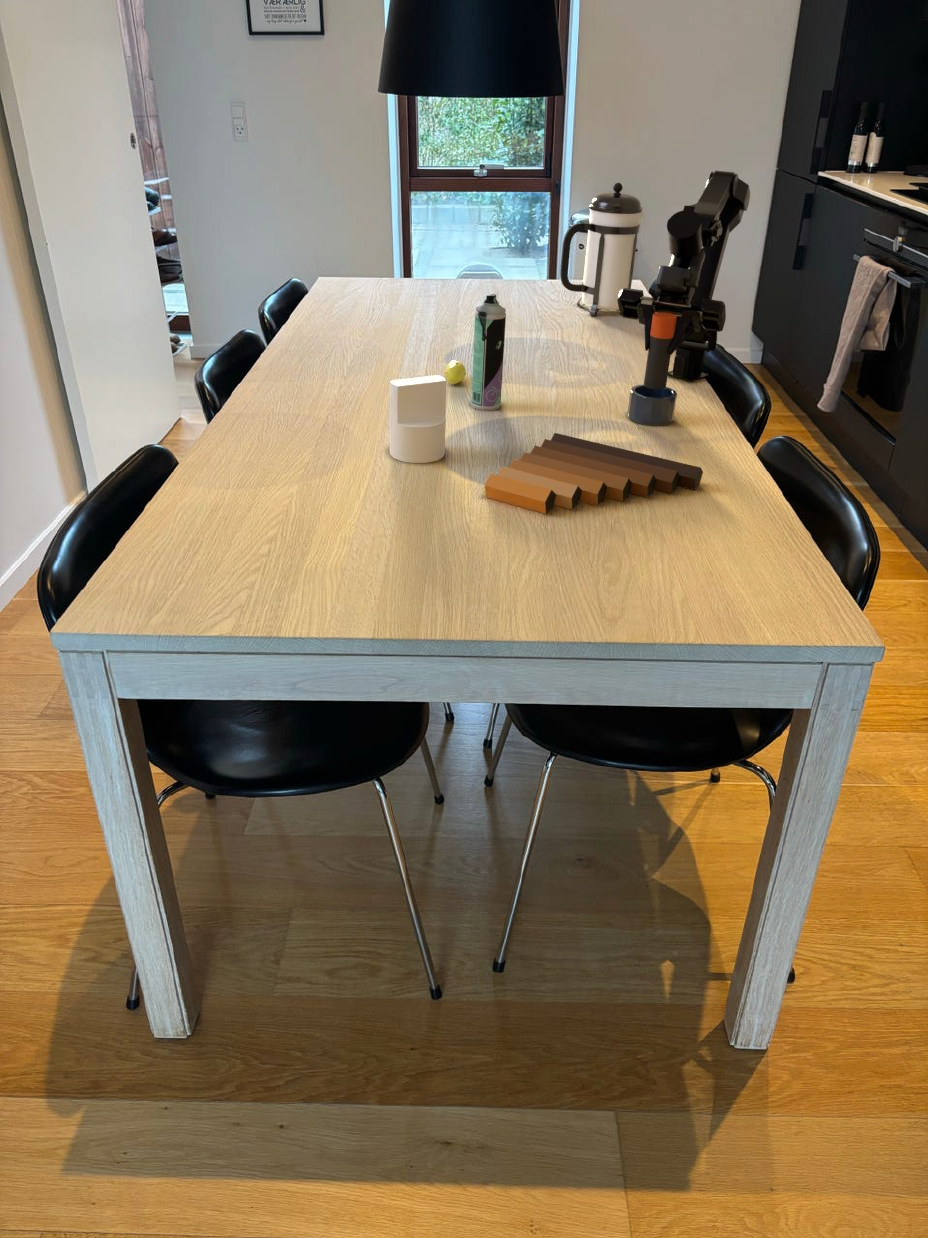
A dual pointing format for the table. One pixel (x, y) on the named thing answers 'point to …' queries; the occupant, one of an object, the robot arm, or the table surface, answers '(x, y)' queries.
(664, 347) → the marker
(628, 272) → the coffee press
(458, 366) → the yellow potato
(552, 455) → the pan flute
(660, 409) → the pen cup
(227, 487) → the table surface
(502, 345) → the spray can
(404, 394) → the base with upright slab
